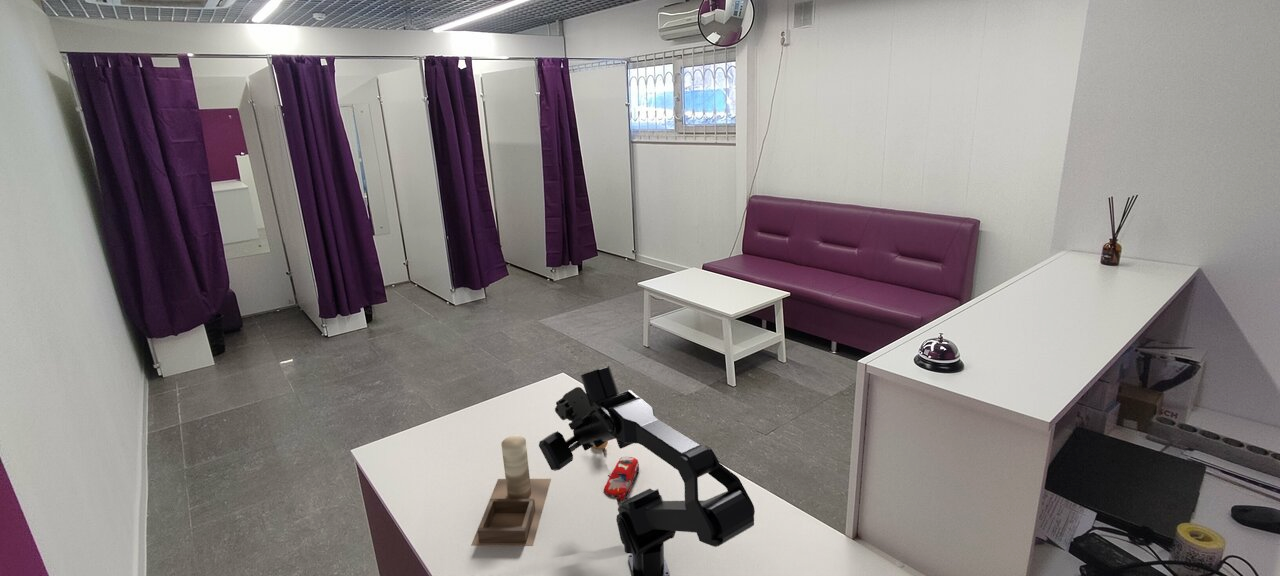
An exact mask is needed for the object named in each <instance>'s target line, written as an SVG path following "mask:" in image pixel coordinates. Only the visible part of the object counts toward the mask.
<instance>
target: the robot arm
mask: <svg viewBox="0 0 1280 576" xmlns="http://www.w3.org/2000/svg"><path fill="white" fill-rule="evenodd" d="M580 379H581V382H582V385H583V387H584V389H583V388H582V387H579V386H576V387H574V388H573V389H571V390H569V391H567V392H566V393H565V394H564V395H563V396H562V397H561V398H560V399H559V400H557V401H556V402H555V404H556V406H555V407H554V412H555V414H556V415H557V416H558V417H559V419H561V420H562V421H566V420H568V421H571V422H569V423H568V427H569V428H570V430H572V432H573V436H571V437H569V438H568V439H565V437H564V435H563V434H562V433H561V432H559V431H558V430H557V431H555V432H552V433H551V434H549V435H548V436H546V437H545V438H543V439H541V440H540V441H539V443H538V448H539V449H540V451H541V453H542V454H543V457H544V458H545V460H546V462H547V464H548V466H549V469H550V470H551V471H554V472H555V471H559V470H562V469H563V468H564V467H566V466H567V465H569V464H570V463H572V462H573V460H574V454H573V452H574V451H575V450H577V449H578V448H580V447H581V446H582V448H583V451H588V450H589V449H590V448H592V447H593V445H595V446H596V447H599V446H601V445H602V444H603V443H605V442H606V441H608V442H609V441H612V440H614V439H615V440H616V442H617V446H618V448H619V449H621V450H622V449H624V448H627V447H628V446H631V445H633V444H638V445H641V446H643V448H646V449H647V450H648V451H650V452H651V453H652V454H654V455H655V456H657V457H658V458H659V459H661V460H663V462H665V463H666V464H668V465H670V467H672V468H674V469H676V470H677V471H678V474H679V476H680V477H681V479H682V481H683V483H684V484H683V485H684V500H663V499H664V498H663V496H662V495H661V494H660V491H659V488H657V489H652V488H648V489H646V490H644V491H641V492H640V493H637V494H635V495H633V496H631V497H629V498H626V499H624V500H621V501H620V506H619V507H618V508H617V511H618V513H617V515H616V525H617V528H618V529H617V530H618V532H619V538H620V541H621V543H622V544H623V546H624V548H623V549H624V552H625V553H626V554H629V555H627V557H628V559H627V560H628V562H629V568H630V569H631V574H632V576H670V574H671V573H670V570H669V568H668V564H667V562H666V559H665V551H664V550H665V549H664V548H665V547H664V546H665V545H664V543H665V542H667V541H668V540H670V539H674V538H675V536H676V533H677V532H683V533H695V534H696V535H697V538H698V540H699V542H701V543H704V544H705V545H709V546H712V547H714V548H717V547H719V546H722V545H724V544H725V543H726V542H729V541H730V540H732V539H733V538H736V537H737V536H739V535H740V534H742V533H744V532H746V531H747V530H749V529H751V528H752V527H754V525H755V506H754V503H753V501H752V499H751V498H750V495H749V494H748V492H747V490H746V489H745V487H744V485H743V483H742V481H741V480H740V478H739V477H738V476H737V475H736V474H734V473H733V472H732V471H730V470H729V469H728V468H726V467H725V466H724V465H722V463H720V461H719V458H718V457H717V456H716V454H715V452H714V451H713V449H712V448H711V447H710V446H709V445H705V444H704V445H701V444H699V443H698V442H696V441H694V440H692V439H691V438H689V437H688V436H686V435H684V434H683V433H681V432H680V431H678V430H676V429H674V428H673V427H671V426H670V425H668V424H666V423H665V422H663V421H661V420H660V419H658V417H656V416H655V410H654V407H652V406H651V405H650V404H649V403H648V402H647V401H645V400H644V399H643V398H641V397H640V396H639V395H637V394H636V393H634V392H633V391H632V390H631V389H627V390H625V391H622V392H619V390H618V387H617V384H616V381H615V379H614V375H613V372H612V370H611V367H610V365H608V366H605V367H601V368H598V369H595V370H592V371H588V372H584V373H582V374H581V375H580ZM707 474H708V475H710V477H712V478H713V479H715V480H716V481H717V482H718V483H720V484H721V485H723V486H724V487H725V489H726V490H727V491H725V492H722V493H720V494H717V495H715V496H713V497H711V498H708V499H705V500H699V485H698V483H699V481H698V479H699V478H700V477H702V476H704V475H707Z"/></svg>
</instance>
